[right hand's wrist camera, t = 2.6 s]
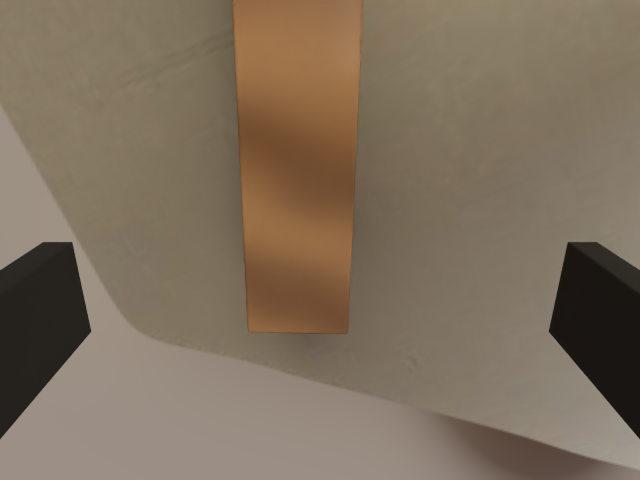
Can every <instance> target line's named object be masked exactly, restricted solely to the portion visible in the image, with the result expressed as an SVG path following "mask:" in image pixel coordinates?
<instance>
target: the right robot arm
mask: <svg viewBox="0 0 640 480" xmlns="http://www.w3.org/2000/svg"><path fill="white" fill-rule="evenodd" d="M90 332H91V328H90V324H89V319H88V314H87V309H86V305H85V300H84V295H83V291H82V286H81V281H80V277H79V272H78V267H77V263H76V258H75V253H74V249H73V244H72V242H43V243H41V244H40V245H38V246H37V247H35V248H34V249H32V250H31V251H29V252H28V253H26V254H24V255H23V256H21V257H20V258H18V259H17V260H15V261H14V262H12V263H11V264H9V265H8V266H6V267H5V268H3V269H2V270H0V439H1V437H2V436H3V435H4V434H5V433H6V432H7V430H8V429H9V428H10V427H11V426H12V425H13V423H14V422H15V421H16V420H17V419H18V417H19V416H20V415H21V414H22V413H23V412H24V410H25V409H26V408H27V407H28V406H29V404H30V403H31V402H32V401H33V400H34V399H35V397H36V396H37V395H38V394H39V393H40V391H41V390H42V389H43V388H44V387H45V386H46V384H47V383H48V382H49V381H50V380H51V378H52V377H53V376H54V375H55V374H56V373H57V371H58V370H59V369H60V368H61V367H62V365H63V364H64V363H65V362H66V361H67V360H68V358H69V357H70V356H71V355H72V354H73V352H74V351H75V350H76V349H77V348H78V347H79V345H80V344H81V343H82V342H83V341H84V339H85V338H86V337H87V336H88V335H89V334H90ZM549 332H550V334H551V335H552V336H553V337H554V338H555V339H556V341H557V342H558V343H559V344H560V345H561V347H562V348H563V349H564V350H565V351H566V352H567V354H568V355H569V356H570V357H571V358H572V360H573V361H574V362H575V363H576V364H577V365H578V367H579V368H580V369H581V370H582V371H583V373H584V374H585V375H586V376H587V377H588V378H589V380H590V381H591V382H592V383H593V384H594V386H595V387H596V388H597V389H598V390H599V391H600V393H601V394H602V395H603V396H604V397H605V399H606V400H607V401H608V402H609V403H610V404H611V406H612V407H613V408H614V409H615V410H616V412H617V413H618V414H619V415H620V416H621V417H622V419H623V420H624V421H625V422H626V423H627V425H628V426H629V427H630V428H631V429H632V430H633V432H634V433H635V434H636V435H637V436H638V438H639V439H640V270H638V269H637V268H635V267H634V266H632V265H631V264H629V263H628V262H626V261H625V260H623V259H622V258H620V257H619V256H617V255H616V254H614V253H612V252H611V251H609V250H608V249H606V248H605V247H603V246H602V245H600V244H599V243H597V242H568V244H567V249H566V253H565V258H564V263H563V267H562V272H561V277H560V281H559V286H558V291H557V295H556V300H555V305H554V309H553V314H552V319H551V324H550V328H549Z"/></svg>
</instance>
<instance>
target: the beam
mask: <svg viewBox="0 0 640 480" xmlns="http://www.w3.org/2000/svg"><path fill="white" fill-rule="evenodd" d="M232 12H233V33H234V53H235V74H236V95H237V116H238V137H239V158H240V179H241V199H242V220H243V241H244V262H245V283H246V304H247V325H248V332H269V333H321V334H347V333H348V323H349V301H350V279H351V257H352V235H353V214H354V192H355V170H356V148H357V126H358V105H359V83H360V61H361V39H362V17H363V0H232Z"/></svg>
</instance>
